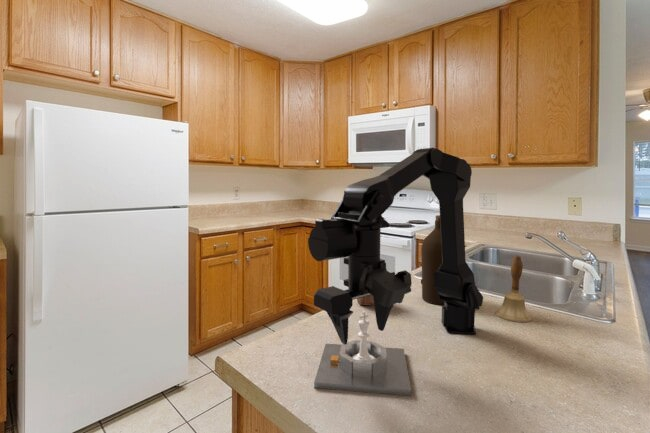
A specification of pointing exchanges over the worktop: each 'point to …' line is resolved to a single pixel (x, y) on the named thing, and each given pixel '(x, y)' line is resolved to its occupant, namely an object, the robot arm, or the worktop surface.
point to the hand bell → (514, 297)
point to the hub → (363, 369)
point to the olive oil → (431, 263)
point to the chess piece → (363, 339)
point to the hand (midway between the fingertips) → (363, 336)
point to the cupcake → (366, 300)
